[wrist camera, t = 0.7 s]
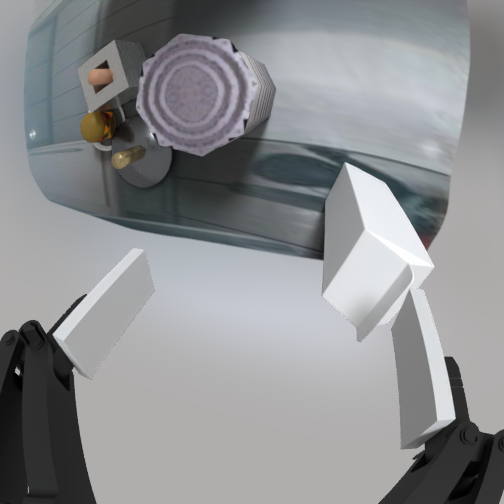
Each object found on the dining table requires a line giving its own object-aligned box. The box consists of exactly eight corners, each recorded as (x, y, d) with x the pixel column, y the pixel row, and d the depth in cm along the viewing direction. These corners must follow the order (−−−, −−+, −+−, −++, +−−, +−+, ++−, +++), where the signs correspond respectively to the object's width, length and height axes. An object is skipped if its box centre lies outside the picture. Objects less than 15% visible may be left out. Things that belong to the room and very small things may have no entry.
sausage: (121, 73, 31) (86, 74, 24) (132, 66, 30) (97, 66, 24) (125, 85, 32) (90, 88, 25) (136, 78, 31) (101, 79, 25)
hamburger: (78, 139, 39) (55, 147, 34) (98, 78, 32) (73, 80, 27) (122, 171, 40) (100, 182, 35) (149, 105, 33) (125, 109, 29)
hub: (107, 132, 36) (80, 140, 31) (159, 103, 32) (133, 106, 27) (130, 193, 41) (107, 207, 36) (184, 173, 37) (163, 187, 32)
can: (286, 60, 26) (266, 40, 16) (266, 145, 33) (238, 169, 23) (197, 48, 27) (143, 35, 17) (183, 128, 34) (129, 146, 24)
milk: (324, 201, 35) (315, 329, 16) (345, 160, 31) (369, 255, 13) (365, 221, 34) (390, 357, 16) (387, 182, 31) (449, 297, 13)
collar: (104, 68, 30) (77, 69, 25) (141, 43, 28) (114, 39, 23) (117, 108, 34) (90, 113, 29) (155, 85, 31) (128, 86, 26)
